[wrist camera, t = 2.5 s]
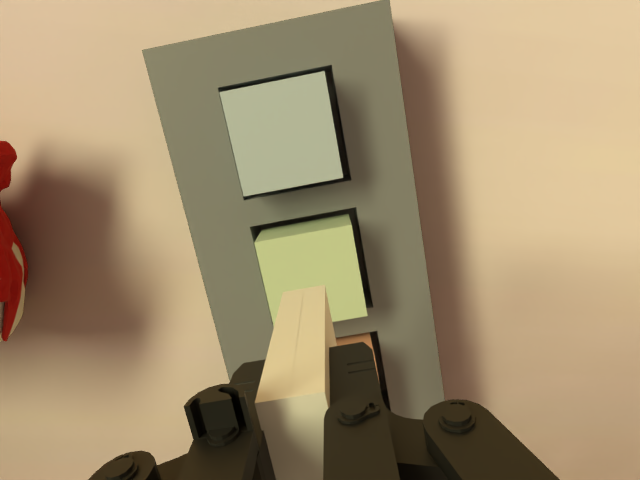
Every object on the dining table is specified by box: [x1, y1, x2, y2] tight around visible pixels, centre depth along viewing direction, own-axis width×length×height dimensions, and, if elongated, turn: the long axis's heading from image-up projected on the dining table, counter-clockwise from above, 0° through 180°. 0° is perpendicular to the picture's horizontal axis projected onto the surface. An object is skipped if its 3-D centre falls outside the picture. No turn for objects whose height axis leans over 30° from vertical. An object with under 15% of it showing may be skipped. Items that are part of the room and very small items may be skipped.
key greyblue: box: [219, 71, 343, 196], centre depth 20 cm, size 4×4×3 cm
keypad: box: [142, 0, 445, 420], centre depth 25 cm, size 11×29×3 cm, turn 11°
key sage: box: [254, 214, 368, 326], centre depth 22 cm, size 4×4×3 cm
